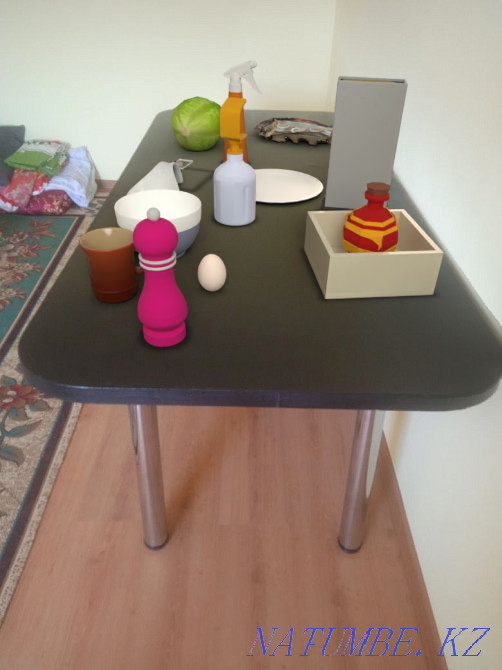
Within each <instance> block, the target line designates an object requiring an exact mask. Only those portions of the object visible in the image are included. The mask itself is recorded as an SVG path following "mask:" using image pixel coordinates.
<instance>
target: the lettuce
mask: <svg viewBox="0 0 502 670" xmlns="http://www.w3.org/2000/svg"><path fill="white" fill-rule="evenodd" d="M221 107H222V105H220V104H219V103H217V102H216V101H213V100H211V99H208V98H206V97H202V96H198V95H197V96H194V97H190V98H187V99H184V100H182V101H181V102H180V103H179V104H177V106H175V107H174V108H173V111H172V115H171V130H172V132H173V134H174V137H175V138H176V139H177V141H178V143H179V144H180V146H182V147H183V148H184V149H185V150H187V151H193V152H195V151H196V152H200V151H207V150H211V149H212V148H213V147H214V146H215V145H216V144H217V143H218V142H219V141H220V140H222V138H221V136H220V109H221Z"/></svg>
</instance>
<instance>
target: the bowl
mask: <svg viewBox="0 0 502 670" xmlns="http://www.w3.org/2000/svg"><path fill="white" fill-rule="evenodd" d="M150 208H157V209H158V210H159V211H160V217H161V218H165V219H167V220H169V221H170V222H171V223H172V224H173V225H174V226H175V228H176V230H177V232H178V237H179V240H178V245H177V247H176V249H175V250H174V251H175V253H176V257H175V258H176V260H177V259H179V258H181V257H183V256H184V255H185V253H186V251H187V250H188V249H189V248H190V247H191V246H192V245H193V244H194V242H195V239H196V238H197V235H198V234H199V231H200V226H201V220H202V201H201V200H200V198H199V197H197V195H194V194H192V193H189V192H186V191H182V190H179V191H178V190H168V189H155V190H146V191H140V192H135V193H132V194H129V195H127V194H125V195H124V196H122V197H120V198H119V199H118V200H116V201H115V203H114V206H113V209H114V214H115V218H116V222H117V225H118V226H117V227H118V228H124V229H128V230H130V231H132V232H133V231H134V228H135V227H136V225H137V224H138V223H139V222H140V221H142V220H144V219H146V218H147V215H146V214H147V211H148V209H150ZM134 252H136V253H138V254H139V253H140V252H139V251H138V250H137V249H135V250H134Z"/></svg>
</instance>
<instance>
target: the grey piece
mask: <svg viewBox="0 0 502 670" xmlns="http://www.w3.org/2000/svg"><path fill="white" fill-rule="evenodd" d="M275 127H277V128H275ZM290 127H295V128H292V129H289V128H290ZM288 129H289V131H285V130H288ZM307 129H309V131H307ZM253 130H257V131H259V132H258V135H259V136H262V137H264V138H265V140H268V139H270V138H271V139H270V141H275V142H278V143H281V142H282V143H283V142H284V143H286V141H288V140H291V141H292V142H293V143H294V144H298V143H299V142H307V143H308V144H309V146H310V145H311V146H317V144H318V143H319V144H320V143H326V144H327V145H329V144H330V145H331V142H330V141H331V140H332V130H333V124H332V125H328V124H324V123H321V122H319V121H318V120H317V121H316V120H311V119H305V118H301V117H300V118H299V117H270V118H268V119H265V120H263V121H261V122H259V124H255V125H253ZM271 130H272V131H271ZM323 130H324V131H325V132H323ZM270 131H271V132H270ZM284 131H285V132H284ZM306 131H307V132H306ZM285 137H287V138H285ZM318 140H320V141H318ZM322 140H326V141H322ZM296 141H297V142H296ZM327 141H328V142H327Z"/></svg>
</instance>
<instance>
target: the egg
mask: <svg viewBox="0 0 502 670" xmlns="http://www.w3.org/2000/svg"><path fill="white" fill-rule="evenodd" d="M197 279H198V283H199V284H200V285H201V287H202V288H203V289H204V290H206V291H207V292H217V291H219V290H220V289H222V287H223V286H224V284H225V283H226V281H227V268H226V265H225V263H224V261H223V260H222V258H221V257H220V256H218V255H217V254H215V253H208V254H207V255H205V256H204V257H203V258H202V259H201V261H200V263H199V264H198V267H197Z"/></svg>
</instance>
